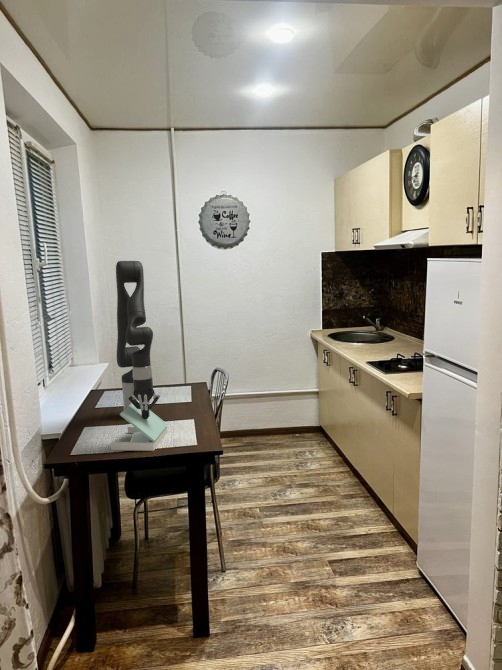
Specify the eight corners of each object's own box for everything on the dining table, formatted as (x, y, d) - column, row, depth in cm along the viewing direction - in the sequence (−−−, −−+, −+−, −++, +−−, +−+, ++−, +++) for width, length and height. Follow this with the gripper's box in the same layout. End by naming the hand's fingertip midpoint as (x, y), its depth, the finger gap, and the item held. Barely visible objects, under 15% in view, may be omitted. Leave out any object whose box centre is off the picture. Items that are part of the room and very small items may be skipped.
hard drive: (149, 442, 193) (153, 431, 206) (128, 443, 193) (133, 432, 205) (149, 446, 194) (153, 435, 206) (128, 447, 193) (133, 436, 205)
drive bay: (128, 432, 208) (128, 425, 208) (167, 432, 206) (167, 426, 206) (111, 450, 190) (111, 442, 189) (153, 450, 188) (153, 443, 187)
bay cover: (135, 400, 205) (136, 399, 205) (166, 425, 205) (167, 424, 205) (119, 414, 187) (120, 413, 187) (153, 442, 188) (154, 440, 187)
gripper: (161, 374, 196) (164, 415, 199) (129, 374, 198) (133, 415, 200) (156, 378, 189) (159, 421, 191) (123, 379, 190) (126, 421, 193)
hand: (145, 418), depth 196 cm, fingers closed
